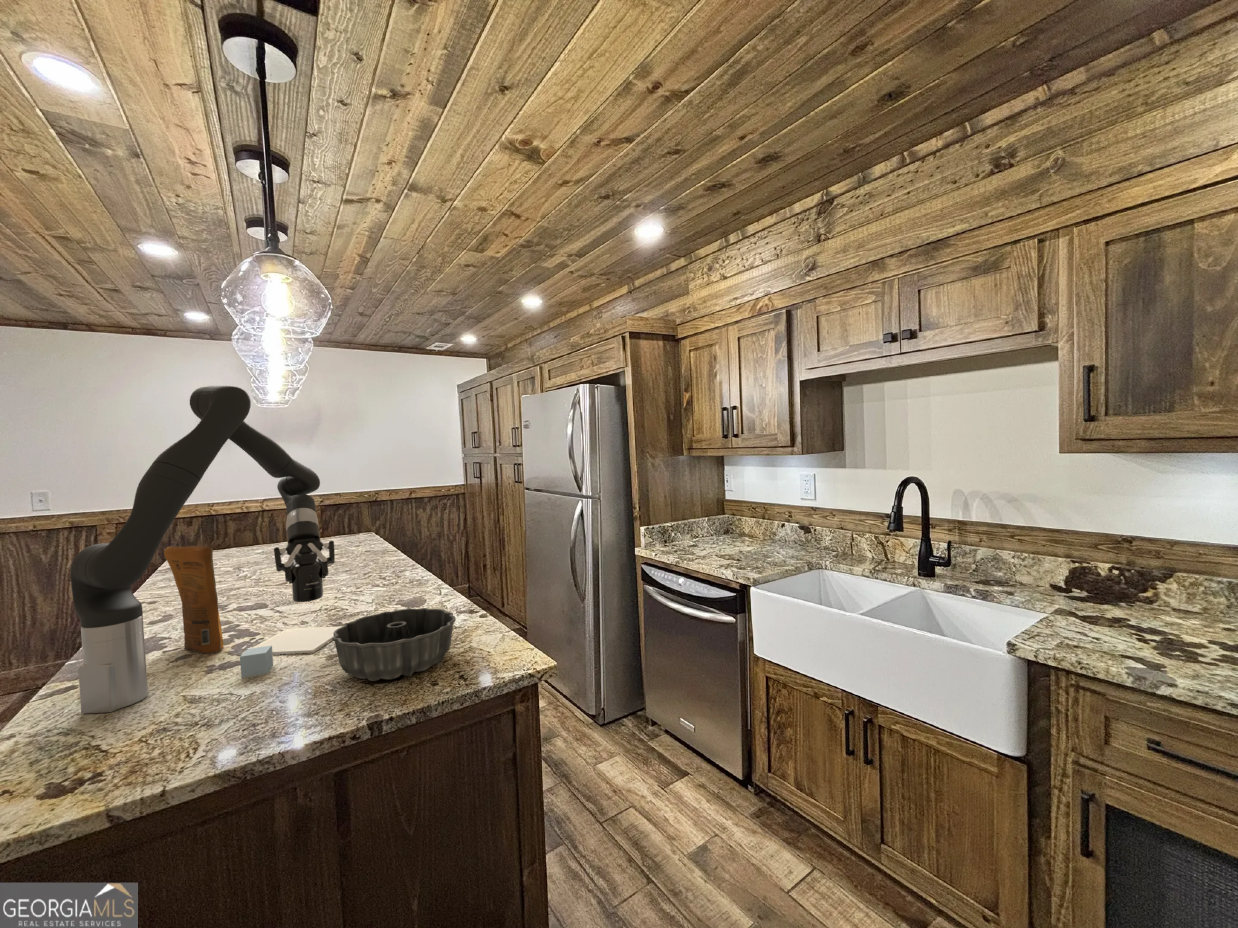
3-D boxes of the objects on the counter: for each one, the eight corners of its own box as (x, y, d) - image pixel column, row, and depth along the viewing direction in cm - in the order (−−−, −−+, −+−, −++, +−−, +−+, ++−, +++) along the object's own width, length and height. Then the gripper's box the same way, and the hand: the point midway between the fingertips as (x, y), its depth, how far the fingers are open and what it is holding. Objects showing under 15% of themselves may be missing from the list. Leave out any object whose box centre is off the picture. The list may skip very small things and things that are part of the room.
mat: (312, 653, 130) (312, 650, 130) (241, 656, 130) (241, 653, 130) (349, 628, 148) (349, 625, 148) (287, 631, 148) (286, 628, 148)
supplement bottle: (312, 602, 130) (309, 555, 129) (286, 603, 130) (283, 556, 129) (329, 594, 137) (326, 549, 136) (304, 595, 137) (301, 550, 136)
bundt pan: (410, 638, 139) (409, 601, 138) (480, 654, 125) (478, 614, 125) (310, 677, 116) (307, 633, 116) (382, 702, 102) (379, 652, 102)
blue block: (267, 674, 119) (265, 652, 119) (241, 678, 117) (239, 656, 117) (273, 665, 124) (272, 645, 123) (248, 669, 122) (247, 648, 122)
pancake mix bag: (204, 658, 130) (197, 548, 129) (167, 648, 139) (160, 545, 138) (234, 649, 136) (227, 543, 135) (197, 639, 145) (190, 540, 144)
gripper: (270, 523, 135) (273, 575, 126) (332, 516, 143) (339, 566, 133) (272, 540, 139) (274, 592, 130) (332, 533, 147) (339, 582, 138)
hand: (307, 579), depth 132 cm, fingers closed on supplement bottle, 7 cm apart
